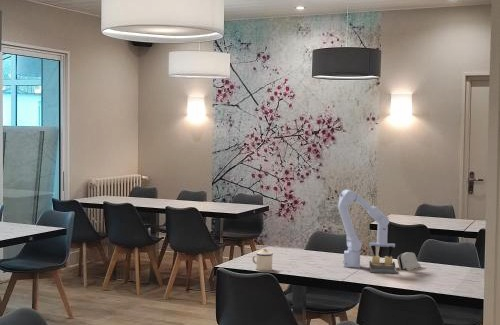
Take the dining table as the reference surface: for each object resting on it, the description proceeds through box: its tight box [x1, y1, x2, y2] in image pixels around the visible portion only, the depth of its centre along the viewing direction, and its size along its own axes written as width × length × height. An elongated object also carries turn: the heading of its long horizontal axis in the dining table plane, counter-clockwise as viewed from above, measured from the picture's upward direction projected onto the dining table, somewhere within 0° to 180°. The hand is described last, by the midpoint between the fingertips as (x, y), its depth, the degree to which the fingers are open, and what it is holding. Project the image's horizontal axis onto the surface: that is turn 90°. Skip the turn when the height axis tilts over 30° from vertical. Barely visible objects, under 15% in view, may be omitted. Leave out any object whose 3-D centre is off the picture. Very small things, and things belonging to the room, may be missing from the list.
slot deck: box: [368, 260, 396, 269], centre depth 381 cm, size 14×9×3 cm, turn 81°
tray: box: [369, 266, 397, 275], centre depth 371 cm, size 14×10×2 cm
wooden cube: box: [371, 255, 381, 264], centre depth 383 cm, size 4×4×4 cm
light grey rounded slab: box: [396, 251, 421, 271], centre depth 384 cm, size 17×5×10 cm, turn 139°
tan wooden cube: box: [384, 255, 393, 265], centre depth 382 cm, size 4×4×4 cm
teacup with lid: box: [251, 247, 273, 272], centre depth 371 cm, size 12×9×12 cm
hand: (381, 259), depth 388 cm, fingers open, 7 cm apart
